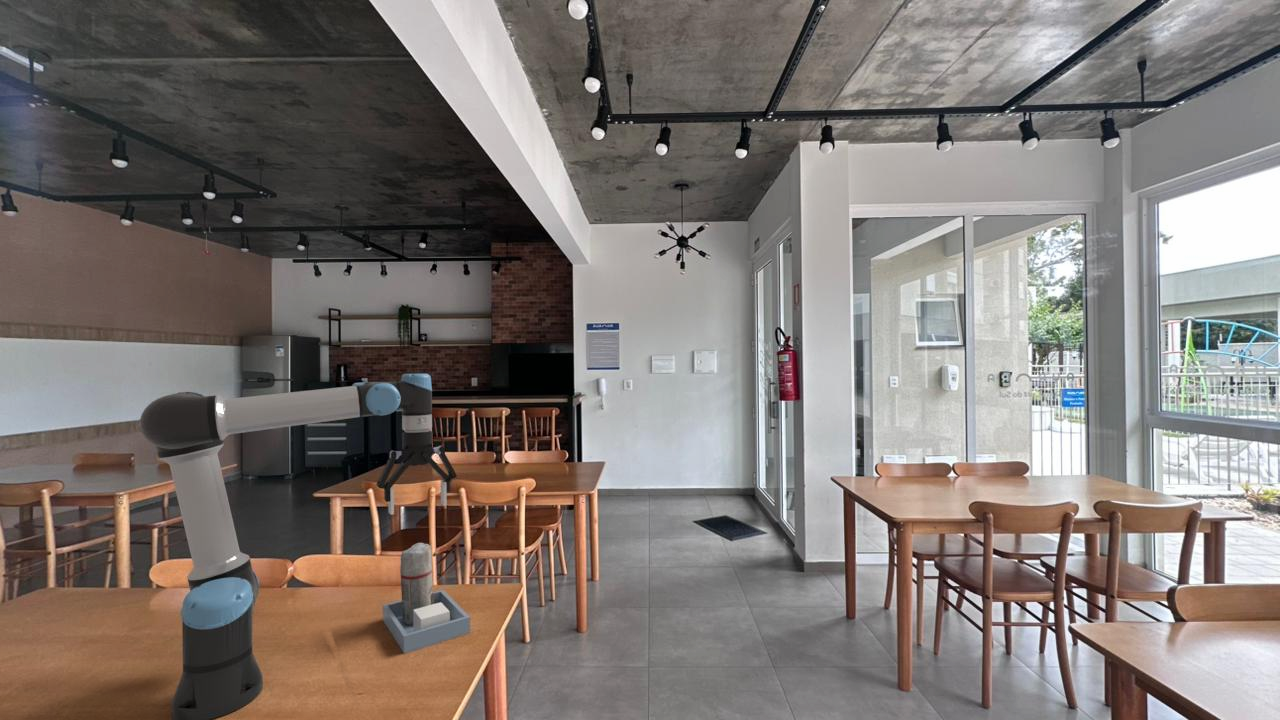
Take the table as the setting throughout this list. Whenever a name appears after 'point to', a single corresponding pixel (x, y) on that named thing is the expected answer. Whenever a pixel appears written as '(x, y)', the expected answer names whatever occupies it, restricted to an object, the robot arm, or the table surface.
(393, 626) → the tote
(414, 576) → the grey banded cylinder
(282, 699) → the table surface
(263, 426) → the robot arm
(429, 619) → the soap bar
